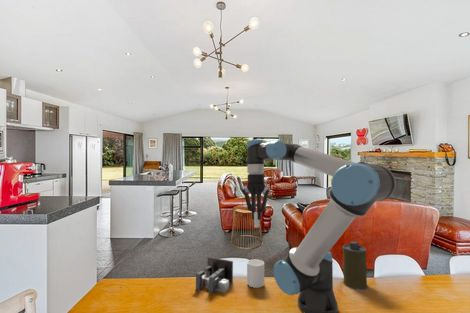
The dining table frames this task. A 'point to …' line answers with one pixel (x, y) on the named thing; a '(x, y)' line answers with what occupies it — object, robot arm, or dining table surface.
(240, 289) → the dining table surface
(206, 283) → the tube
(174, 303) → the dining table surface
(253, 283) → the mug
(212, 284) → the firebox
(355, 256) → the canister
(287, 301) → the dining table surface
